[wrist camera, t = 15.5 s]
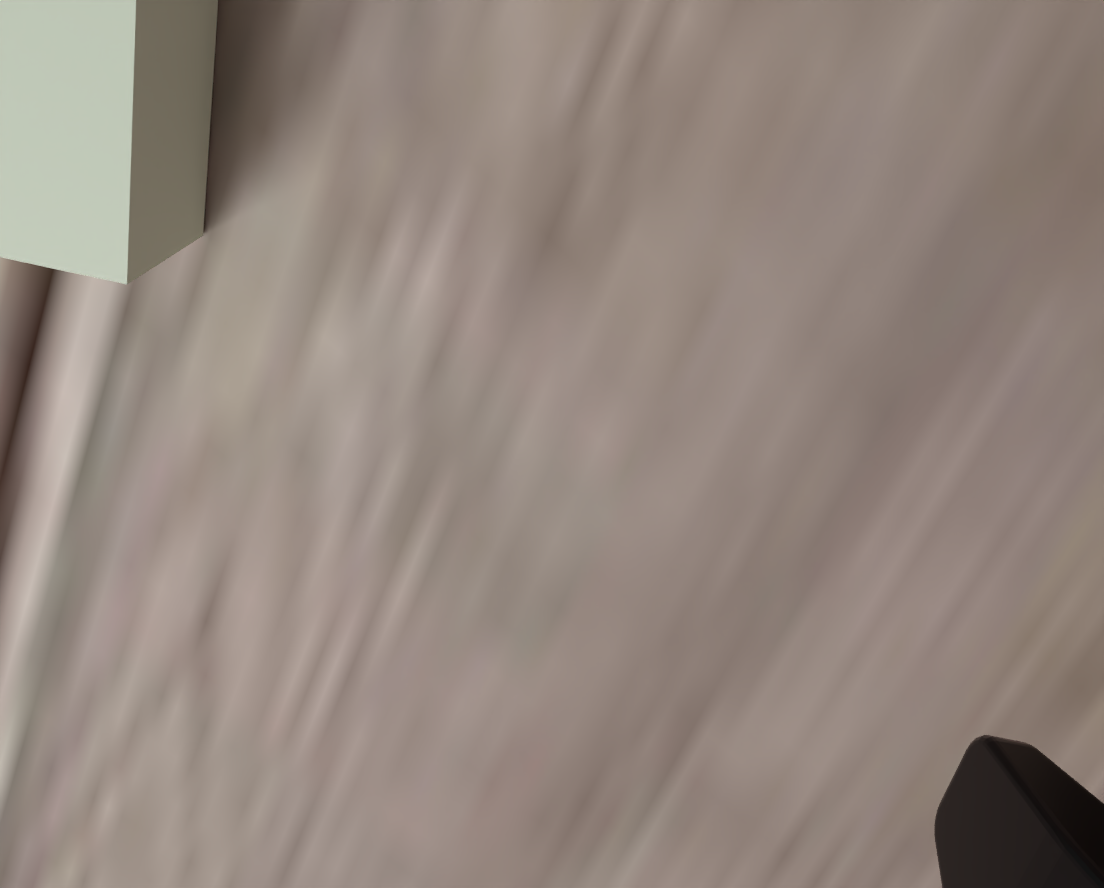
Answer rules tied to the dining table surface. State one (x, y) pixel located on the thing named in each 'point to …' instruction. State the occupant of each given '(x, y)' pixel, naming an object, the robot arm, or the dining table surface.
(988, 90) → the dining table surface
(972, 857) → the robot arm
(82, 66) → the socket block
